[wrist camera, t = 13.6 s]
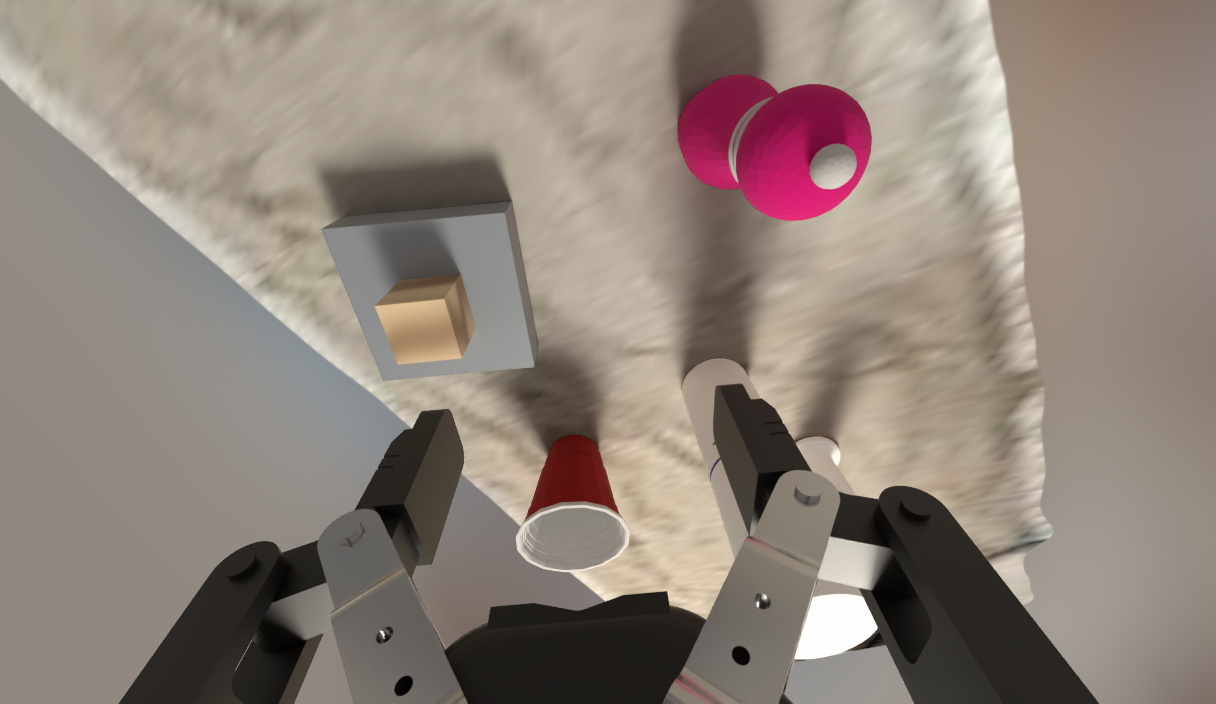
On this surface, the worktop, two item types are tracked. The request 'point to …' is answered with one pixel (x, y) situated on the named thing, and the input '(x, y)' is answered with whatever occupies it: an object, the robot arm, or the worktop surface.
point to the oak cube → (427, 319)
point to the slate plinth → (441, 246)
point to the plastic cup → (572, 511)
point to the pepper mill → (777, 144)
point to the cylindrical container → (834, 606)
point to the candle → (824, 461)
